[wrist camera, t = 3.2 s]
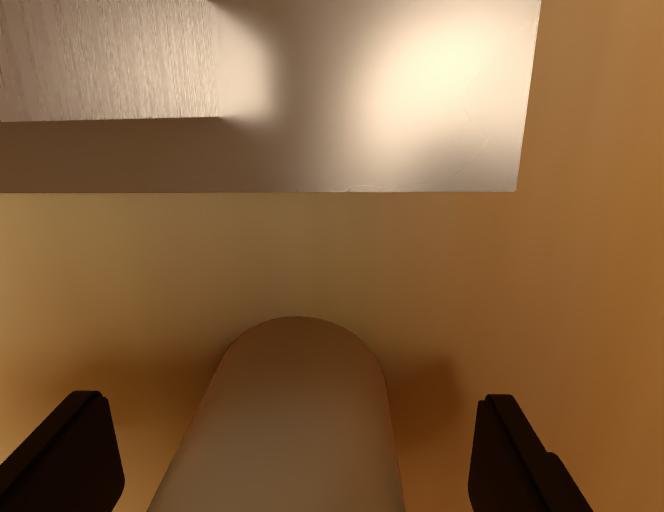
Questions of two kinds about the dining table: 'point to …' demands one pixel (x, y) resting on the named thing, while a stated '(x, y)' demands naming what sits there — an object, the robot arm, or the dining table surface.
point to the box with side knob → (263, 95)
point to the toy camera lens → (289, 428)
